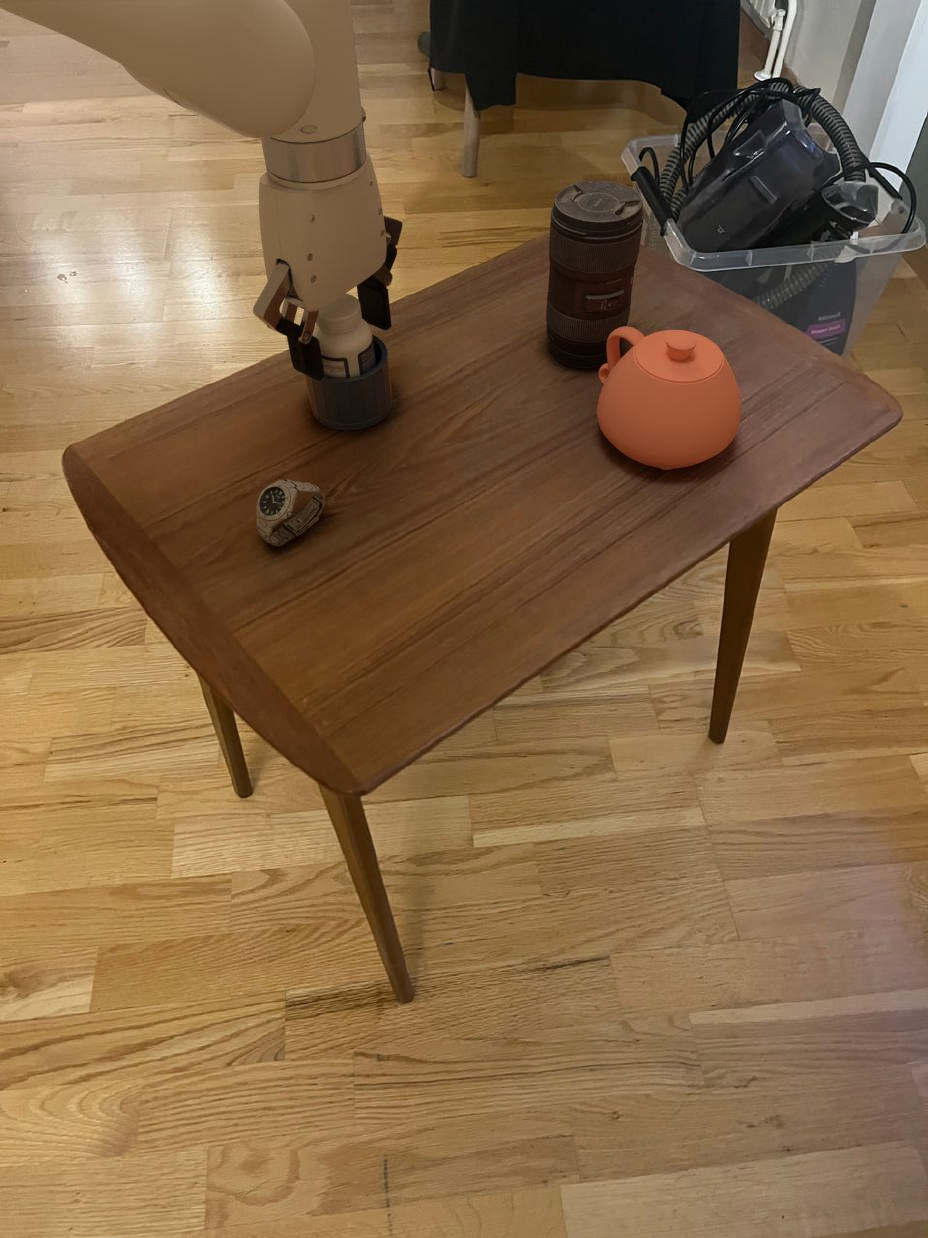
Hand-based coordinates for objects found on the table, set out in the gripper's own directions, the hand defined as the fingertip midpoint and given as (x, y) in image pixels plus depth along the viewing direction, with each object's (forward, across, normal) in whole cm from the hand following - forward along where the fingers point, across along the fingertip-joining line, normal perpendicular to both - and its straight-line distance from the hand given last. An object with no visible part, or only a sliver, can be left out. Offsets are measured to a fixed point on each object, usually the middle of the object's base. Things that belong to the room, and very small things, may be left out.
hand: (343, 347), depth 81 cm
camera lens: (+6, -20, +13) cm, 25 cm away
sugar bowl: (+6, -13, +25) cm, 29 cm away
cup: (+6, 0, 0) cm, 6 cm away
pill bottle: (+6, 0, 0) cm, 6 cm away
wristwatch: (+7, +15, +7) cm, 18 cm away
